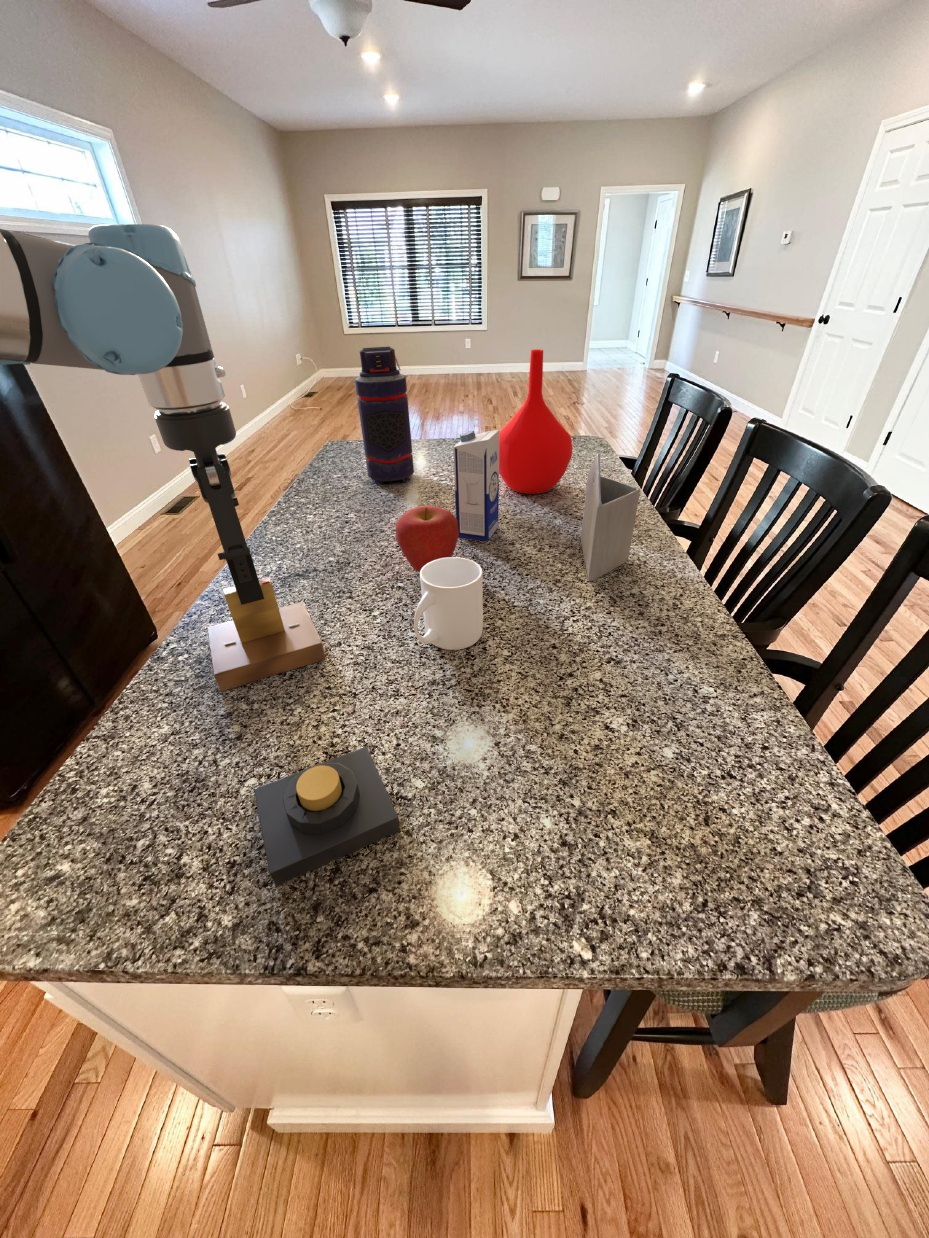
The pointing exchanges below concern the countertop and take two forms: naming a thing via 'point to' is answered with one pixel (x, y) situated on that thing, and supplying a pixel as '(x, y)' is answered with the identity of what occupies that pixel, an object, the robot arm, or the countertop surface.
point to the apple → (426, 535)
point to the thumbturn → (255, 613)
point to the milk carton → (477, 484)
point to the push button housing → (324, 818)
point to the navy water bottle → (384, 416)
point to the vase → (534, 441)
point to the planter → (607, 522)
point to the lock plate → (264, 649)
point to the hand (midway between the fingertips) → (245, 576)
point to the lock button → (319, 788)
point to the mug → (451, 603)
